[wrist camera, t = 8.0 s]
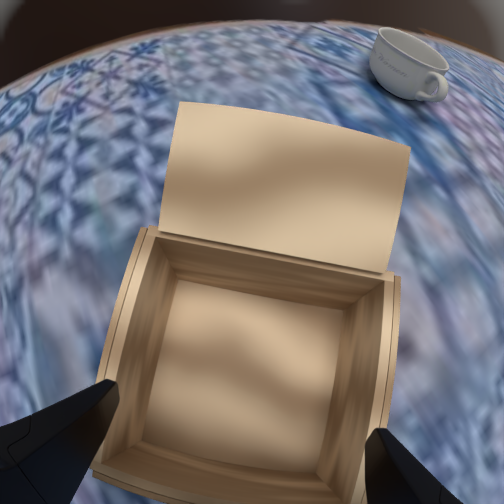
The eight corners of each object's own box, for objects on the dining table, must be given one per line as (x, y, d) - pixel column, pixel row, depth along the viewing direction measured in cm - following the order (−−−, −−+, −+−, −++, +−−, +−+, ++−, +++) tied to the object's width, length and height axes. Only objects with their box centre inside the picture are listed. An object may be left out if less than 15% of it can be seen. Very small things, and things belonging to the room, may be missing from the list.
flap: (410, 147, 14) (407, 148, 15) (179, 101, 14) (182, 103, 15) (385, 273, 16) (382, 271, 16) (158, 230, 16) (161, 228, 16)
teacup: (356, 60, 39) (369, 19, 31) (415, 75, 39) (432, 39, 32) (379, 116, 33) (401, 67, 26) (447, 133, 33) (473, 92, 26)
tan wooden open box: (324, 483, 18) (362, 522, 10) (128, 446, 18) (81, 471, 11) (353, 307, 23) (400, 273, 16) (169, 271, 24) (141, 223, 17)
